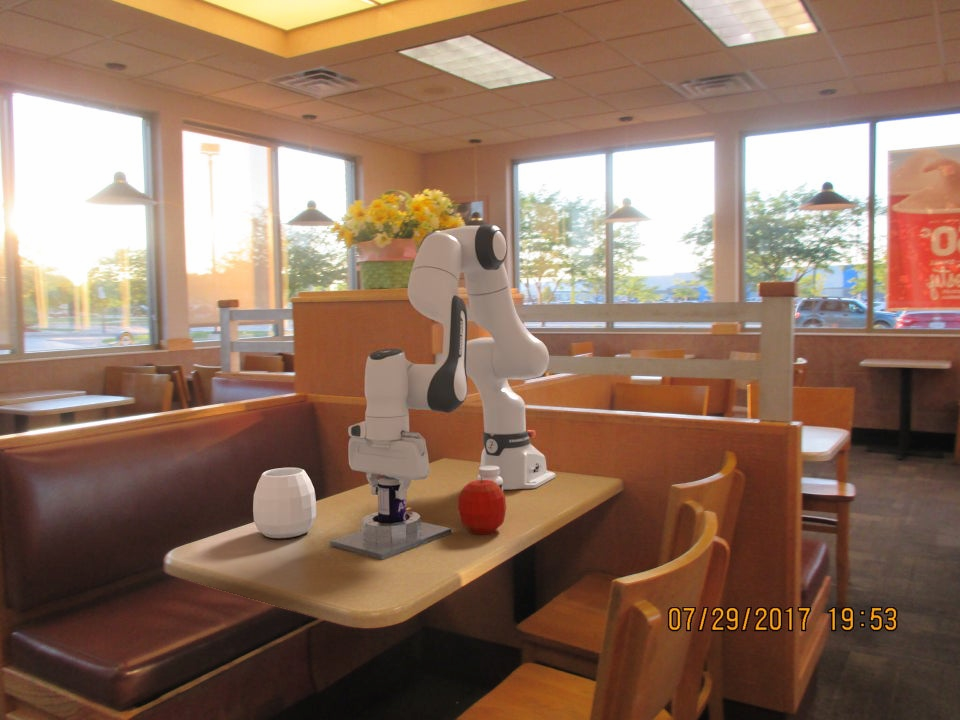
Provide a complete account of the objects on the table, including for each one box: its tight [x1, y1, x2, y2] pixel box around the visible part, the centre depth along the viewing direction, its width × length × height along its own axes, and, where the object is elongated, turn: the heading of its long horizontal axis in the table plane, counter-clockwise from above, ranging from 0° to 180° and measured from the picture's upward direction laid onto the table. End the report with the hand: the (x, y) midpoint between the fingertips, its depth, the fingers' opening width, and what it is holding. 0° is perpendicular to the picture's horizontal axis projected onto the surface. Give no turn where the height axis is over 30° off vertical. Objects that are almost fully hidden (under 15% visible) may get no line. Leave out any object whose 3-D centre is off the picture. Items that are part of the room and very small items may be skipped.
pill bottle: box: [475, 466, 504, 492], centre depth 171 cm, size 6×6×11 cm
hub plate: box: [329, 507, 452, 561], centre depth 155 cm, size 20×15×5 cm
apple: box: [457, 478, 507, 535], centre depth 159 cm, size 10×10×12 cm
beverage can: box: [377, 475, 407, 523], centre depth 155 cm, size 6×6×12 cm
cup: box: [252, 467, 317, 539], centre depth 161 cm, size 13×13×14 cm
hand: (388, 496), depth 154 cm, fingers open, 6 cm apart
